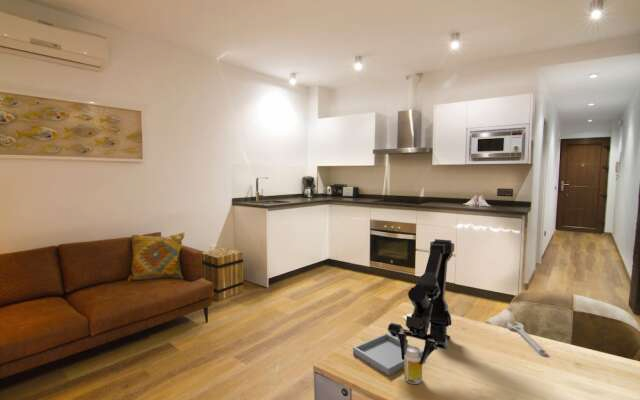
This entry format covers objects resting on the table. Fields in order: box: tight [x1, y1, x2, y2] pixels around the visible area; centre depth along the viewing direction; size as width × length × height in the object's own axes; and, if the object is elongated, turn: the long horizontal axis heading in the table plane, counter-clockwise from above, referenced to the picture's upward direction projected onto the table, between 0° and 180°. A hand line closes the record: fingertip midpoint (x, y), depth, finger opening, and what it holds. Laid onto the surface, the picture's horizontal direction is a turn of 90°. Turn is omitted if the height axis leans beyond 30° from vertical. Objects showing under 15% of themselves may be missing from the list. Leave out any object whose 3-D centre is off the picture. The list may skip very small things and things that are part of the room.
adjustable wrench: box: [506, 321, 548, 357], centre depth 135 cm, size 25×6×2 cm, turn 170°
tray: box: [352, 332, 423, 377], centre depth 125 cm, size 18×18×2 cm
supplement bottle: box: [403, 345, 423, 385], centre depth 110 cm, size 6×6×10 cm
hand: (411, 362), depth 109 cm, fingers closed on supplement bottle, 6 cm apart
